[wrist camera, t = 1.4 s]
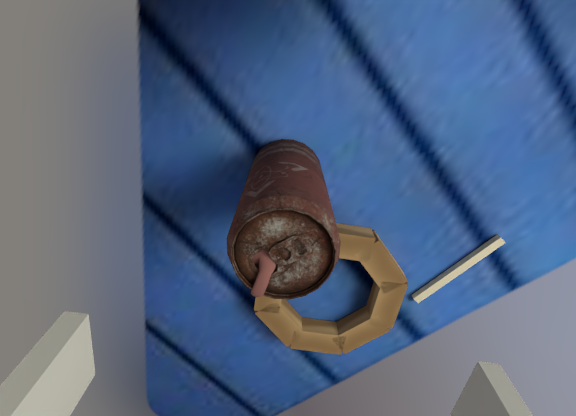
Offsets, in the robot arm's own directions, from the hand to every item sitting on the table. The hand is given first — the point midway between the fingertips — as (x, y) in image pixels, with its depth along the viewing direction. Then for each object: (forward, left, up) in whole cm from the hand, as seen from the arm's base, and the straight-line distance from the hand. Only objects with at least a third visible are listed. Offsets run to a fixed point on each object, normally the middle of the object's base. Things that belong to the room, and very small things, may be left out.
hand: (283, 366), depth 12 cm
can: (0, 0, -21) cm, 21 cm away
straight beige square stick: (+7, +18, -21) cm, 28 cm away
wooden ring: (+11, +6, -21) cm, 24 cm away
